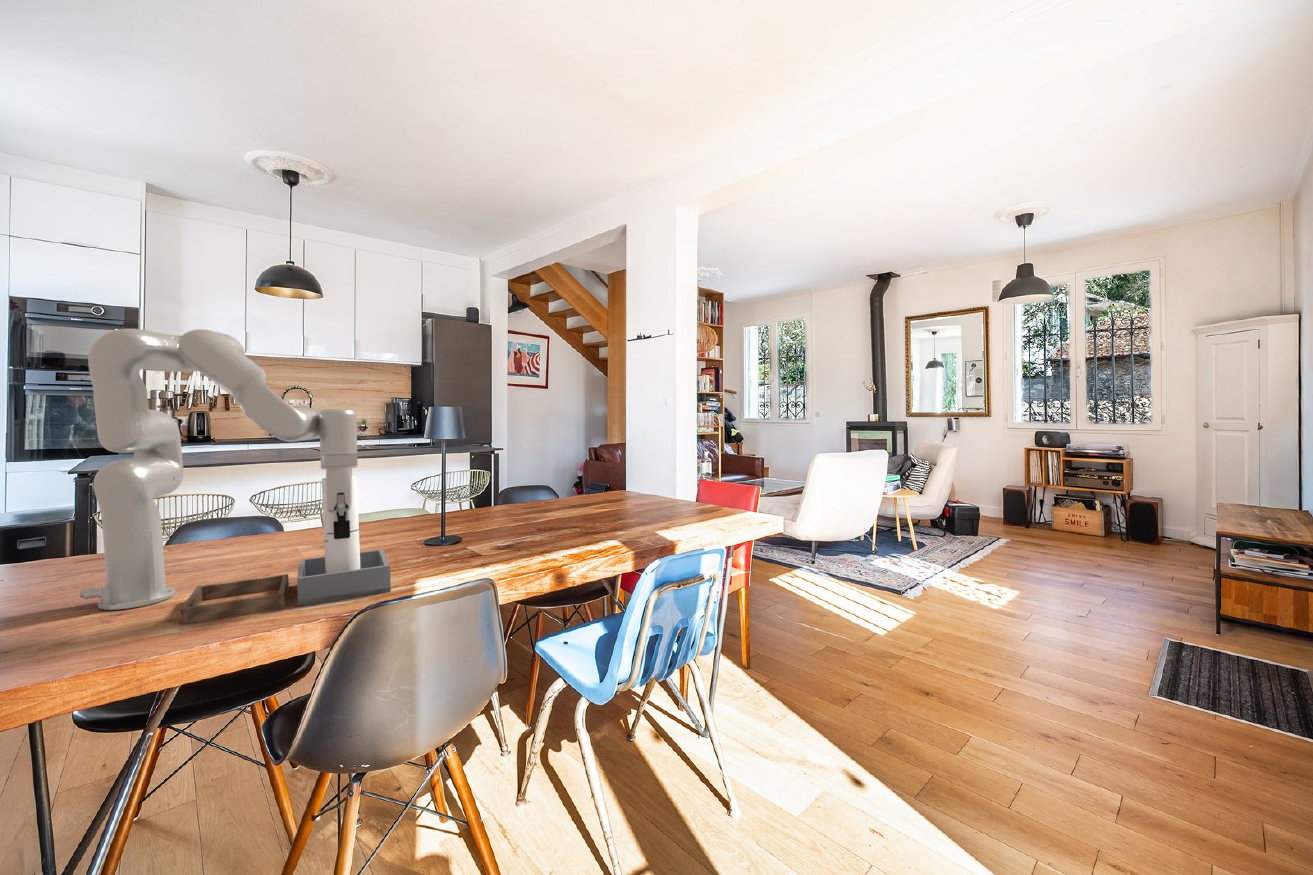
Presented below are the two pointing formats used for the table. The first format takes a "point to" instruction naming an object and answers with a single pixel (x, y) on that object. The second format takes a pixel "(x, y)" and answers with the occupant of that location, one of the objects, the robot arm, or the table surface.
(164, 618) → the table surface
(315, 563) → the charcoal bin
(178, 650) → the table surface
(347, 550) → the cylindrical container
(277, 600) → the walnut frame
